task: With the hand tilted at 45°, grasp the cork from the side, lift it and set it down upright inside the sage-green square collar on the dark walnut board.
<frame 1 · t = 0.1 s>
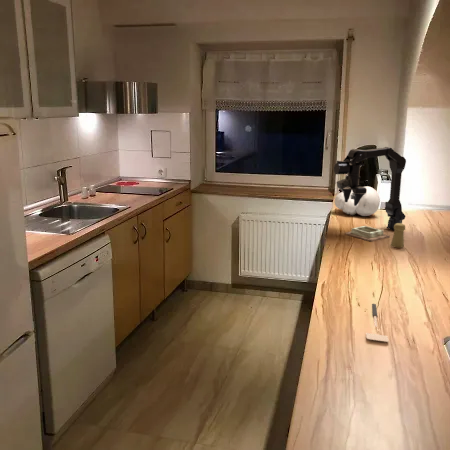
hand: (350, 203, 262), 15 cm above the countertop, tool pointing down, fingers open, 9 cm apart
shaker holder: (366, 235, 258), on the countertop
cork: (397, 246, 242), on the countertop
white lobed sculpture: (356, 215, 305), on the countertop
spatula: (375, 323, 157), on the countertop
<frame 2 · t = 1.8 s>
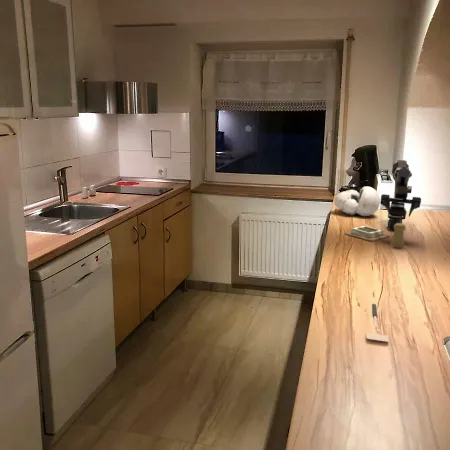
hand: (399, 215, 246), 13 cm above the countertop, tool tilted 45°, fingers open, 9 cm apart
nothing on the countertop moved.
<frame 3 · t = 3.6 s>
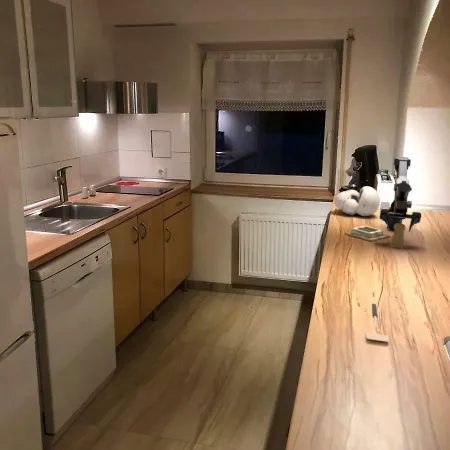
hand: (399, 230, 240), 8 cm above the countertop, tool tilted 45°, fingers open, 9 cm apart
nothing on the countertop moved.
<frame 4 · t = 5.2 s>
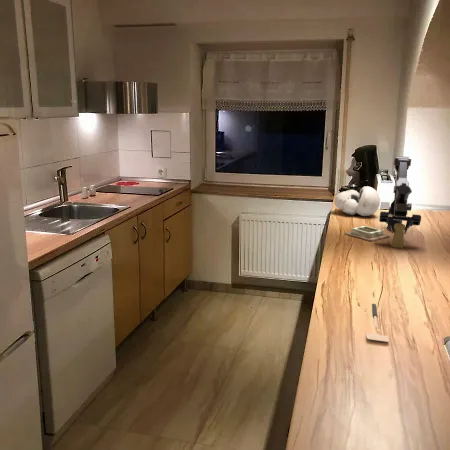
hand: (398, 233, 239), 7 cm above the countertop, tool tilted 45°, fingers closed on cork, 5 cm apart
cork: (397, 246, 242), on the countertop, touching gripper
everything else where it was.
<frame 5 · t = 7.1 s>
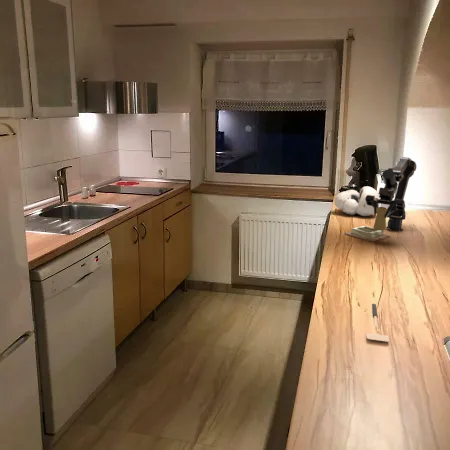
hand: (380, 216, 246), 12 cm above the countertop, tool tilted 45°, fingers closed on cork, 5 cm apart
cork: (379, 229, 249), point 6 cm above the countertop, touching gripper
everything else where it was.
when the fingers open (9 cm above the countertop, at t = 9.5 s): cork drops 1 cm, resting on shaker holder.
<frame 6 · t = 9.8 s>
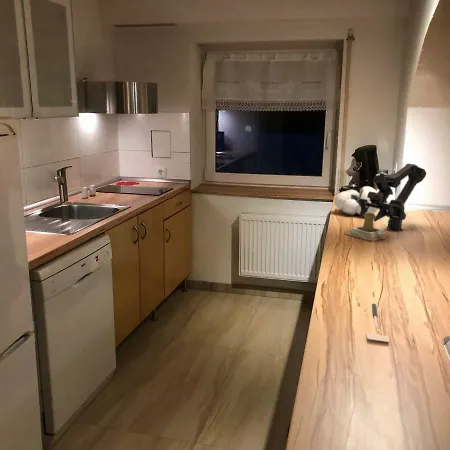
hand: (367, 219, 255), 9 cm above the countertop, tool tilted 45°, fingers open, 8 cm apart
cork: (367, 234, 258), point 1 cm above the countertop, touching shaker holder
everything else where it was.
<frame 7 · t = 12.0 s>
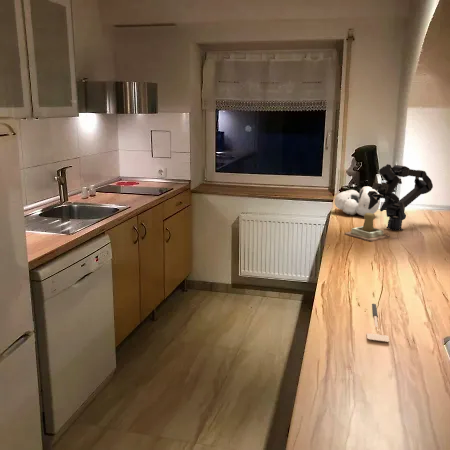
hand: (374, 210, 261), 12 cm above the countertop, tool tilted 40°, fingers open, 9 cm apart
nothing on the countertop moved.
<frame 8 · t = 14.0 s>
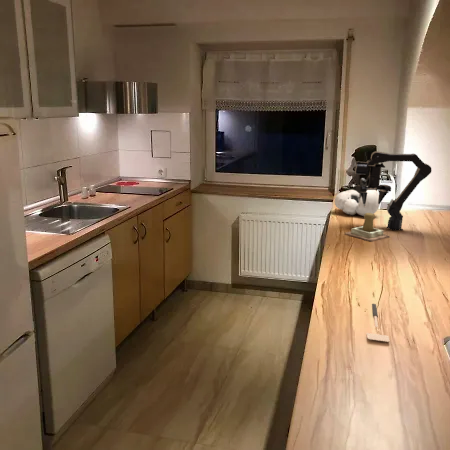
hand: (371, 203, 273), 13 cm above the countertop, tool pointing down, fingers open, 9 cm apart
nothing on the countertop moved.
at the end: cork 0.2 cm off-centre on the shaker holder, point 0.6 cm above the shaker holder's base; cork tilted 0°; the gripper is holding nothing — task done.
